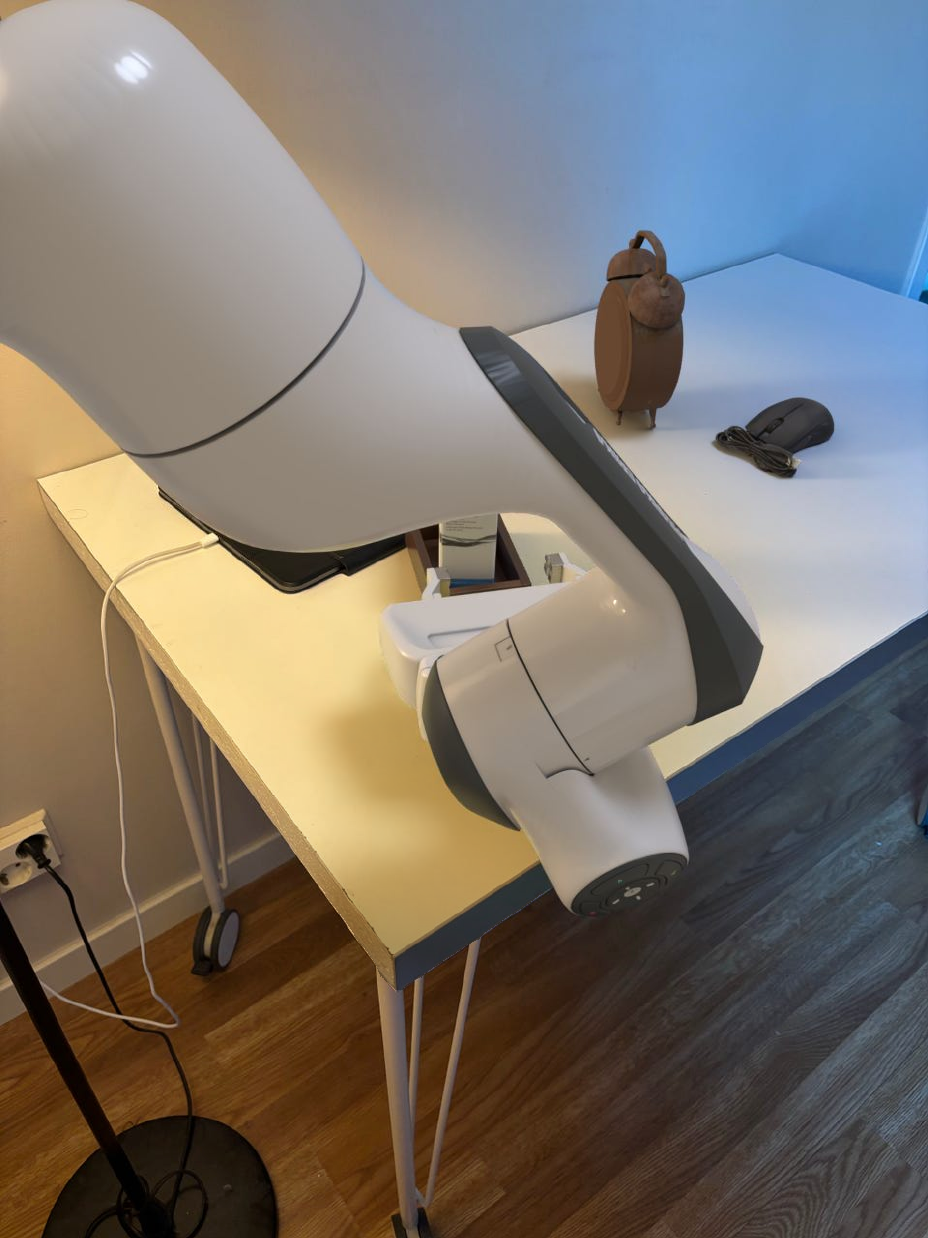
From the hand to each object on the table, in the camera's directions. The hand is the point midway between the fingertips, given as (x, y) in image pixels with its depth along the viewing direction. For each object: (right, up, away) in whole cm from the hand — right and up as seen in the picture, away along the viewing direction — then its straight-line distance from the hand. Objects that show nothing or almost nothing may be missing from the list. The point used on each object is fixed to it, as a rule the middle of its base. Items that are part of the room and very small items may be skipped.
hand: (495, 566), depth 74 cm
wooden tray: (-2, 0, +13) cm, 13 cm away
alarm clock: (+17, +20, +38) cm, 46 cm away
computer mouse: (+34, +16, +33) cm, 50 cm away
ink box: (-2, 0, +12) cm, 13 cm away
